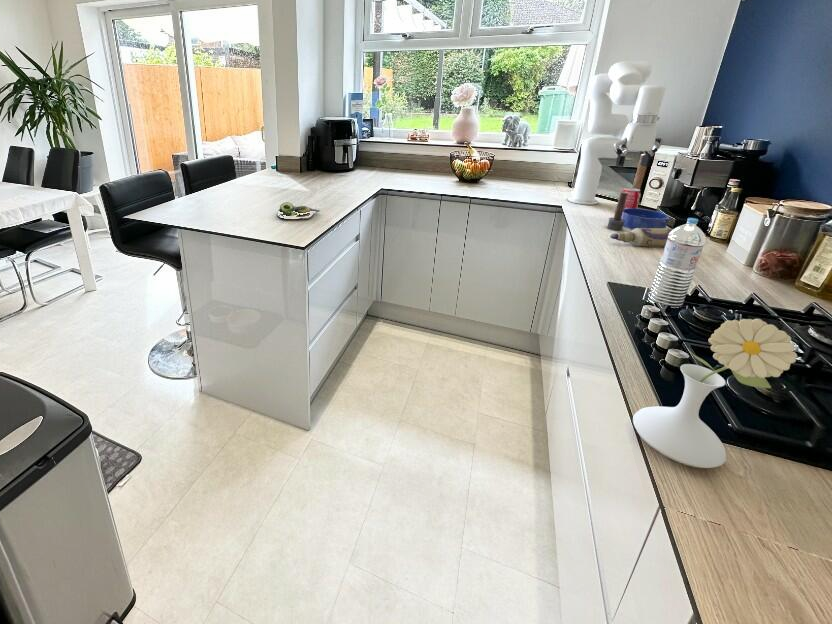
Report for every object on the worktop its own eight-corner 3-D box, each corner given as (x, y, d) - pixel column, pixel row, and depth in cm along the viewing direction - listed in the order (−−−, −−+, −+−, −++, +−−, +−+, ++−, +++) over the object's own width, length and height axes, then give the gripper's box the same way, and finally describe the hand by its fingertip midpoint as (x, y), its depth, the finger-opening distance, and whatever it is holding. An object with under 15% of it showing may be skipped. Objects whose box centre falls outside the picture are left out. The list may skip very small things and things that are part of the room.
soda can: (628, 213, 181) (635, 187, 177) (638, 217, 175) (646, 191, 171) (611, 212, 182) (618, 187, 178) (621, 217, 176) (628, 190, 171)
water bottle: (662, 304, 105) (693, 214, 97) (685, 318, 99) (721, 223, 90) (637, 305, 105) (666, 214, 96) (659, 318, 99) (692, 223, 90)
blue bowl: (610, 220, 172) (613, 208, 170) (645, 220, 172) (649, 208, 170) (636, 232, 158) (640, 219, 156) (674, 232, 157) (678, 219, 155)
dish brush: (603, 226, 164) (613, 191, 159) (616, 226, 164) (626, 191, 159) (612, 230, 159) (622, 194, 154) (625, 230, 159) (635, 194, 154)
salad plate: (320, 209, 190) (320, 200, 189) (319, 220, 174) (318, 210, 172) (280, 209, 191) (280, 199, 190) (275, 220, 175) (274, 210, 173)
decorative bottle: (678, 243, 146) (684, 226, 144) (693, 251, 139) (700, 233, 137) (602, 240, 150) (607, 223, 147) (613, 247, 143) (618, 230, 140)
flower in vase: (616, 433, 66) (662, 302, 57) (648, 407, 72) (694, 283, 63) (720, 498, 56) (795, 350, 47) (748, 462, 61) (820, 322, 52)
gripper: (659, 119, 152) (646, 164, 158) (613, 119, 152) (603, 164, 158) (675, 120, 145) (661, 167, 151) (628, 120, 145) (616, 167, 151)
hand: (631, 166), depth 154 cm, fingers open, 9 cm apart
